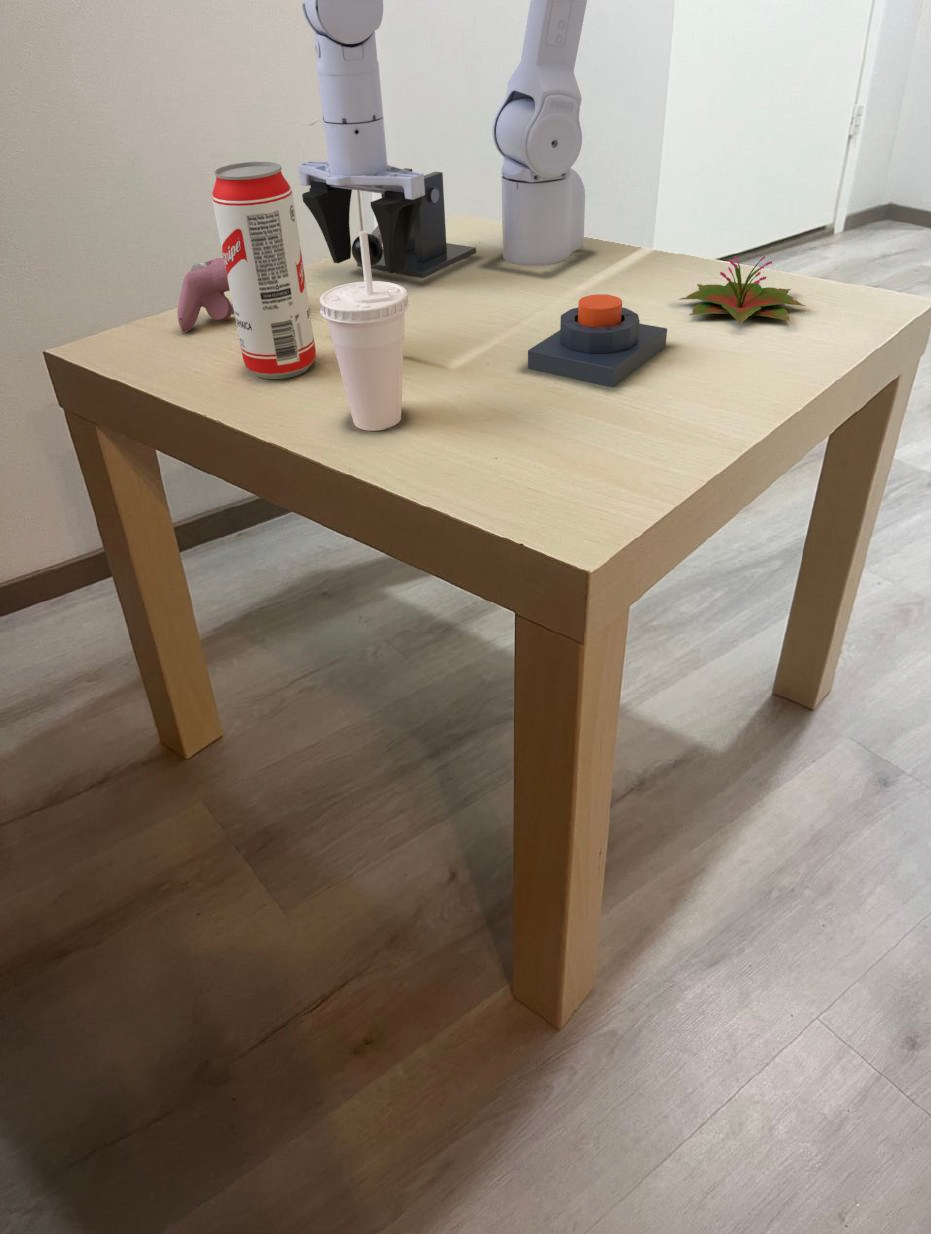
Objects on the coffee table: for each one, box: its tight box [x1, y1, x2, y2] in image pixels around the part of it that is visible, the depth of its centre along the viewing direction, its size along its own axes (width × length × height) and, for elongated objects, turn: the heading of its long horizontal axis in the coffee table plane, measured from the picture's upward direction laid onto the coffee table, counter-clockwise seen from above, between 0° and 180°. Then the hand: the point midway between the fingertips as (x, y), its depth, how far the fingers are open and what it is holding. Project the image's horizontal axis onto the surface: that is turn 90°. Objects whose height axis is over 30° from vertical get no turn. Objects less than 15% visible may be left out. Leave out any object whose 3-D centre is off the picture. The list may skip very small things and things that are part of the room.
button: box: [577, 293, 623, 327], centre depth 78 cm, size 4×4×2 cm
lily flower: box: [677, 255, 806, 325], centre depth 87 cm, size 12×12×5 cm
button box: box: [527, 306, 668, 388], centre depth 79 cm, size 10×8×4 cm
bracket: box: [356, 167, 477, 279], centre depth 100 cm, size 10×9×9 cm
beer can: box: [211, 161, 317, 380], centre depth 77 cm, size 6×6×16 cm
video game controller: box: [177, 257, 233, 333], centre depth 90 cm, size 10×5×7 cm, turn 84°
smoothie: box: [319, 230, 410, 432], centre depth 68 cm, size 6×6×14 cm
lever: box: [351, 225, 383, 267], centre depth 97 cm, size 12×3×3 cm, turn 145°
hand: (368, 265), depth 97 cm, fingers open, 7 cm apart
